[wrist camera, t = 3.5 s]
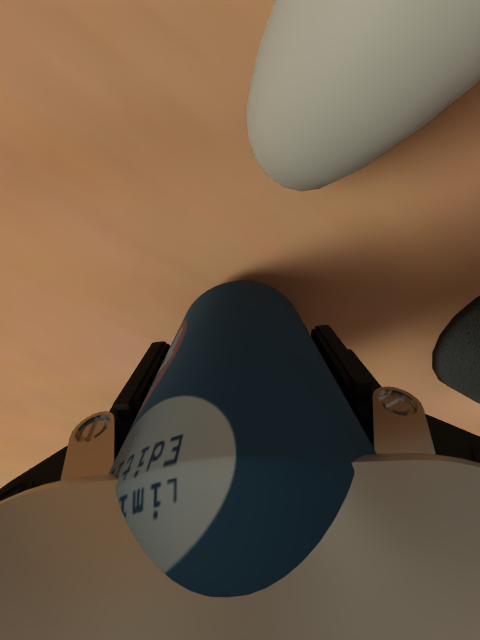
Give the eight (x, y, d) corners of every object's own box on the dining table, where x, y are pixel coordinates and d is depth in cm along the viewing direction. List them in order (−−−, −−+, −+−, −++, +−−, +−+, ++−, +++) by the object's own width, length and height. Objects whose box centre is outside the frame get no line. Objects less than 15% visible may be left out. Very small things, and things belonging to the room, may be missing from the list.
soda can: (169, 291, 13) (-173, 706, 2) (285, 259, 12) (657, 662, 1) (208, 378, 16) (147, 728, 5) (303, 357, 15) (461, 719, 4)
